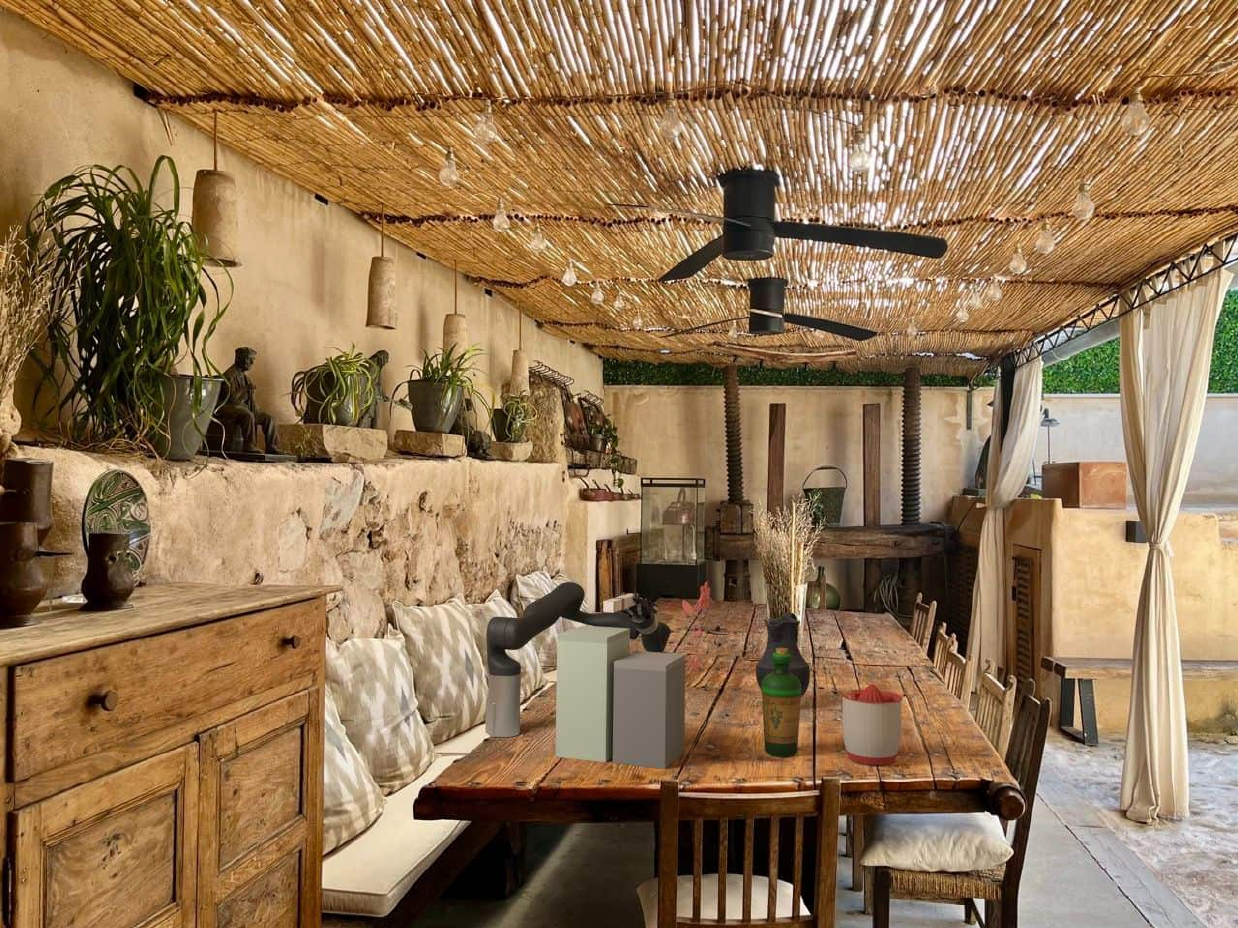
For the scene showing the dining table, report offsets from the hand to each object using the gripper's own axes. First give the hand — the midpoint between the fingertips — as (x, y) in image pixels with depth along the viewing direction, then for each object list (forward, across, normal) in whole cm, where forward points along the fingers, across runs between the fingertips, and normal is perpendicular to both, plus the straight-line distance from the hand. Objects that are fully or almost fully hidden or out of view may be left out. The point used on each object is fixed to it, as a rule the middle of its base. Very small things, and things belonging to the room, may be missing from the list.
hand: (628, 595), depth 289 cm
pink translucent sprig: (-100, 0, -12) cm, 100 cm away
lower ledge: (+5, +16, +48) cm, 50 cm away
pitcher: (-60, +39, +11) cm, 72 cm away
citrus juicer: (-12, +70, +38) cm, 81 cm away
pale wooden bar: (+4, 0, +6) cm, 7 cm away
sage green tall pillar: (+5, 0, +48) cm, 48 cm away
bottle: (-10, +48, +39) cm, 63 cm away
